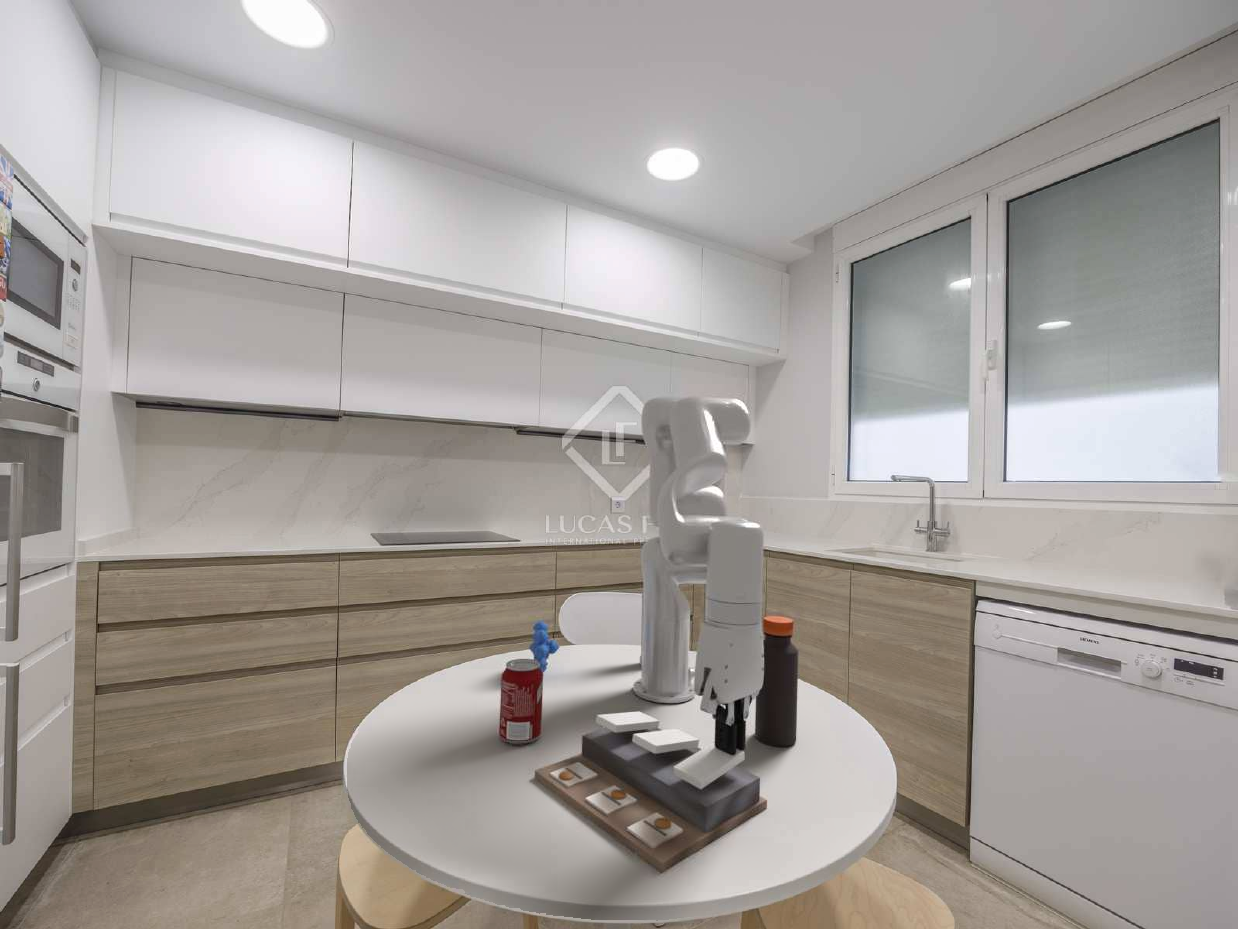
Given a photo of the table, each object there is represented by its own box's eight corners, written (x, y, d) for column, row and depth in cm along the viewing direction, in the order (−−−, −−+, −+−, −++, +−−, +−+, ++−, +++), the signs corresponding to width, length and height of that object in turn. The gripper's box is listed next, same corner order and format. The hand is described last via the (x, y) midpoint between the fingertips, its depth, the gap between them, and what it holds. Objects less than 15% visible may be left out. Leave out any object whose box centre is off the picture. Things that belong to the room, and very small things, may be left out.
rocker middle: (675, 735, 84) (676, 728, 85) (698, 747, 81) (699, 739, 81) (632, 741, 79) (633, 734, 79) (655, 753, 75) (656, 746, 75)
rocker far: (638, 718, 90) (639, 711, 91) (658, 727, 87) (659, 720, 87) (595, 722, 85) (596, 715, 85) (615, 732, 81) (616, 725, 81)
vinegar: (803, 739, 96) (806, 620, 96) (784, 752, 91) (787, 626, 91) (766, 726, 100) (769, 612, 101) (747, 738, 95) (750, 618, 96)
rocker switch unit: (636, 739, 93) (637, 714, 93) (766, 807, 75) (767, 776, 75) (534, 777, 80) (535, 749, 80) (661, 872, 61) (662, 835, 61)
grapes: (560, 684, 118) (563, 626, 118) (528, 684, 116) (530, 626, 117) (556, 665, 129) (558, 613, 130) (526, 666, 128) (528, 613, 128)
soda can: (532, 750, 88) (535, 672, 89) (492, 744, 90) (495, 668, 90) (546, 731, 95) (549, 659, 95) (508, 726, 96) (511, 655, 97)
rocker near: (717, 746, 78) (717, 739, 78) (744, 759, 75) (744, 752, 75) (673, 774, 73) (673, 766, 72) (700, 789, 69) (700, 781, 69)
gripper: (744, 600, 85) (741, 725, 84) (674, 613, 75) (670, 755, 74) (788, 610, 79) (785, 743, 79) (720, 625, 69) (715, 779, 68)
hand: (729, 748), depth 76 cm, fingers closed
